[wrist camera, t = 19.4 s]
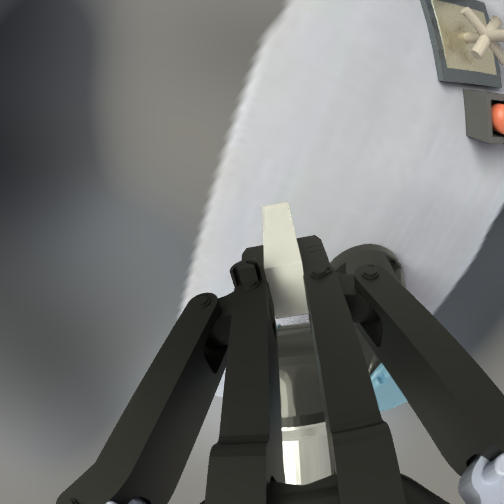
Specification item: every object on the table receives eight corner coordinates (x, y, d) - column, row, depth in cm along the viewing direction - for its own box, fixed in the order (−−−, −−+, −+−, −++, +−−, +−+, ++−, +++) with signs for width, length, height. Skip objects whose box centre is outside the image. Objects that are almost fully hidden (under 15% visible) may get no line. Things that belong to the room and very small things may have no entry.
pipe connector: (495, 45, 24) (535, 46, 16) (474, 79, 28) (516, 84, 20) (457, -1, 22) (495, -11, 13) (433, 31, 26) (474, 23, 17)
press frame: (496, 87, 29) (592, 111, 10) (438, 81, 31) (547, 95, 12) (474, -10, 20) (561, -25, 1) (411, -27, 22) (496, -70, 3)
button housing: (495, 135, 34) (517, 143, 29) (466, 135, 35) (488, 143, 30) (493, 92, 30) (515, 96, 25) (462, 89, 31) (485, 92, 26)
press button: (505, 132, 30) (517, 136, 27) (487, 131, 30) (499, 135, 28) (504, 103, 27) (516, 106, 25) (486, 101, 28) (498, 104, 25)
